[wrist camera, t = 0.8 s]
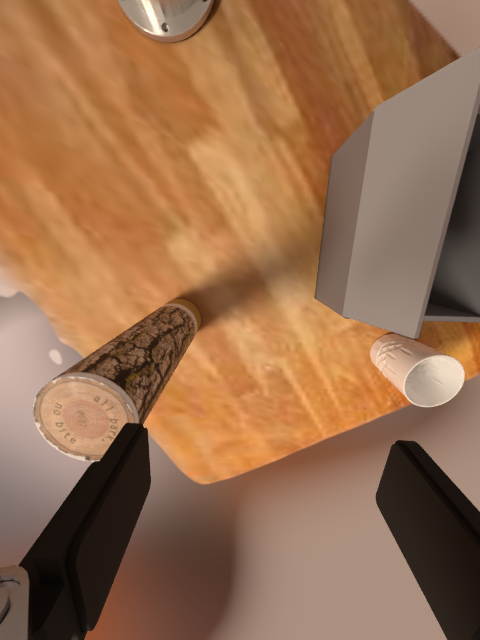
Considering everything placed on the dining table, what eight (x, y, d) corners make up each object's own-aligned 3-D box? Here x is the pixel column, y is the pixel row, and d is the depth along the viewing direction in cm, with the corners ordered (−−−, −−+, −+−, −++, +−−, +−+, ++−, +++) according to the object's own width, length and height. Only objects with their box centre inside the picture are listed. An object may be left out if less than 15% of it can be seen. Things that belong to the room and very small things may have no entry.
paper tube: (202, 299, 38) (133, 381, 14) (201, 338, 40) (137, 465, 16) (161, 296, 38) (24, 371, 14) (162, 334, 40) (40, 457, 16)
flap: (346, 315, 26) (342, 315, 26) (379, 109, 21) (374, 107, 21) (418, 338, 20) (414, 338, 19) (495, 43, 14) (490, 40, 14)
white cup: (366, 374, 42) (403, 411, 32) (364, 334, 40) (403, 360, 30) (412, 367, 41) (462, 402, 32) (412, 325, 39) (467, 350, 29)
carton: (331, 156, 32) (380, 103, 21) (447, 159, 32) (561, 107, 21) (314, 298, 38) (345, 318, 26) (413, 300, 38) (486, 322, 26)
